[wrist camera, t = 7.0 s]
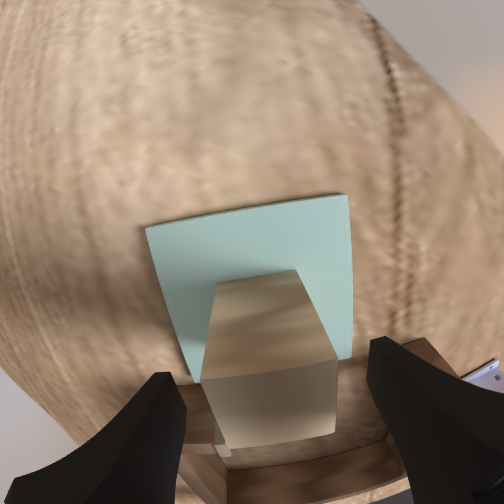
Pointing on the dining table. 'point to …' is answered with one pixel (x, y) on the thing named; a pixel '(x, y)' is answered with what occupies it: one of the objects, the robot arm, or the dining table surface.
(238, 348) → the oak block
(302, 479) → the walnut box
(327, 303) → the teal mat
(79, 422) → the dining table surface
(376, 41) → the dining table surface
